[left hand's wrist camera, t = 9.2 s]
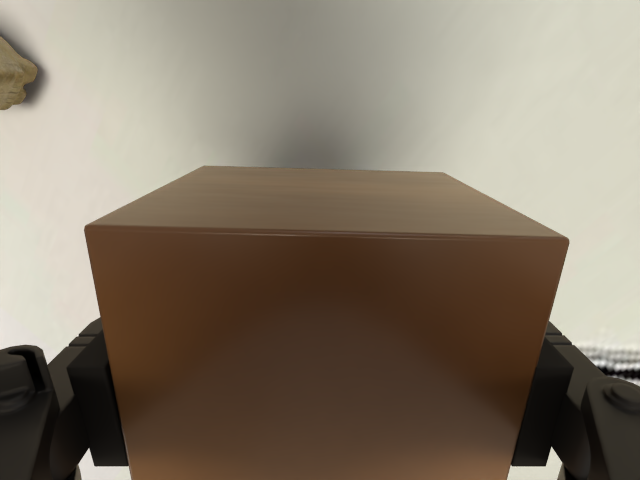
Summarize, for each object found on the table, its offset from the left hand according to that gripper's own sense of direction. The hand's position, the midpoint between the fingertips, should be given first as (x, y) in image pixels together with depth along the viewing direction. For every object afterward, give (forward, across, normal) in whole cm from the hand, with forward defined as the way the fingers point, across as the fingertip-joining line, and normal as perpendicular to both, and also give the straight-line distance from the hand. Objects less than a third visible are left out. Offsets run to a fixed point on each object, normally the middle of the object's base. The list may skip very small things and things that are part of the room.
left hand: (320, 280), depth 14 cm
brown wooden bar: (0, -1, -33) cm, 33 cm away
